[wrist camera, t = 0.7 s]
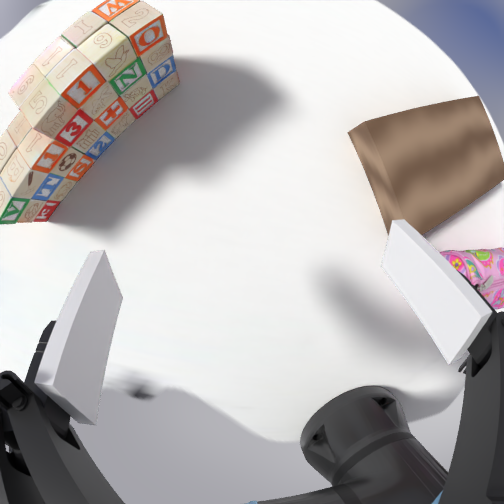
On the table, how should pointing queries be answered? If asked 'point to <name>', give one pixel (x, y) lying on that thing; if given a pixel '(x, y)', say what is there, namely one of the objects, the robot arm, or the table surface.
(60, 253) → the table surface
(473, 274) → the pencil case
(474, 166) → the walnut riser
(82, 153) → the stack of blocks
